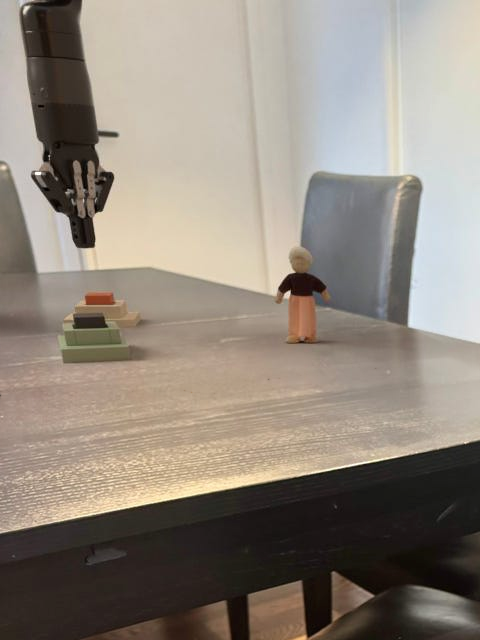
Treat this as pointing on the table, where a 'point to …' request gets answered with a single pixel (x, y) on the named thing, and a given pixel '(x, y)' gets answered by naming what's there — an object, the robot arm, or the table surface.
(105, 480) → the table surface
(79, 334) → the green stepped pyramid
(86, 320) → the key front
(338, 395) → the table surface
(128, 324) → the beige stepped base
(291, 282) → the grandmother figurine
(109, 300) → the key back
